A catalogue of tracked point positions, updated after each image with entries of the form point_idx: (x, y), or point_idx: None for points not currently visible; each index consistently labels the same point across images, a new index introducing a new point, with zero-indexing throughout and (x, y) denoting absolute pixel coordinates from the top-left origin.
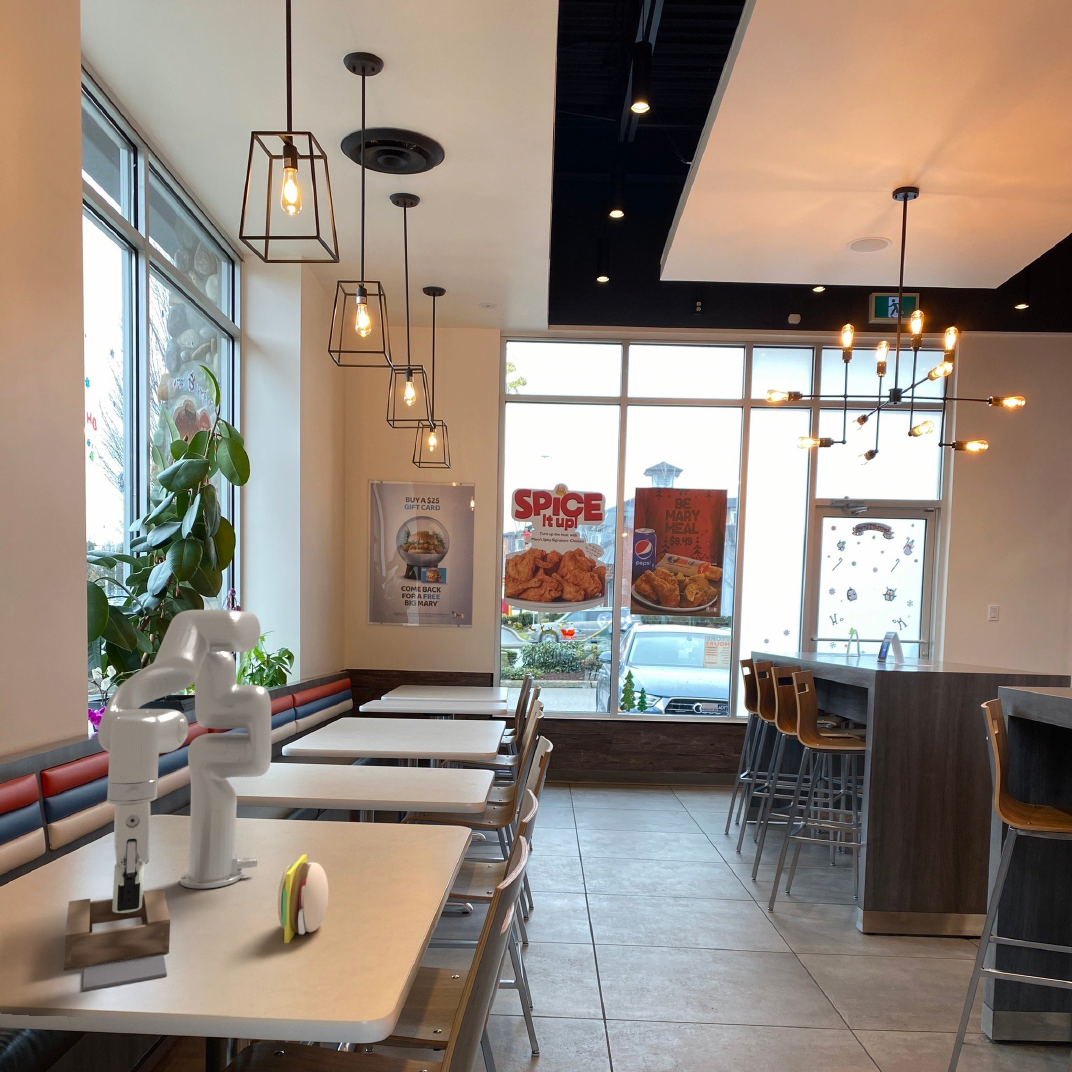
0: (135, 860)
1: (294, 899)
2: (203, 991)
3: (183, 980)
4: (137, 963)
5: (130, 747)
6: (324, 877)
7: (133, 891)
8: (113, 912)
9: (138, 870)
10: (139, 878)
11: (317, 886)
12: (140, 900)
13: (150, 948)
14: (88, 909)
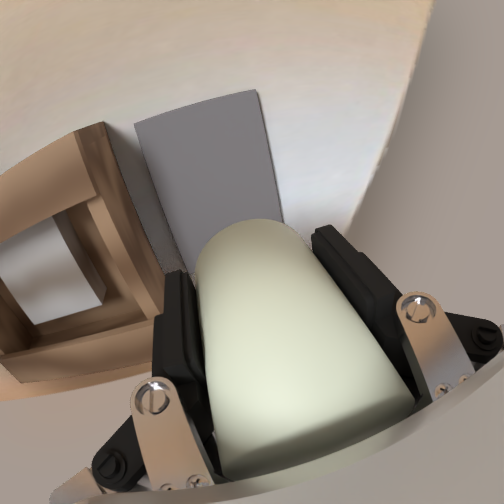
0: (211, 467)
1: None
2: (349, 20)
3: (286, 52)
4: (178, 172)
5: None
6: None
7: (393, 286)
8: None
9: (461, 352)
10: (358, 323)
11: None
12: (286, 238)
13: (113, 165)
14: (39, 354)
